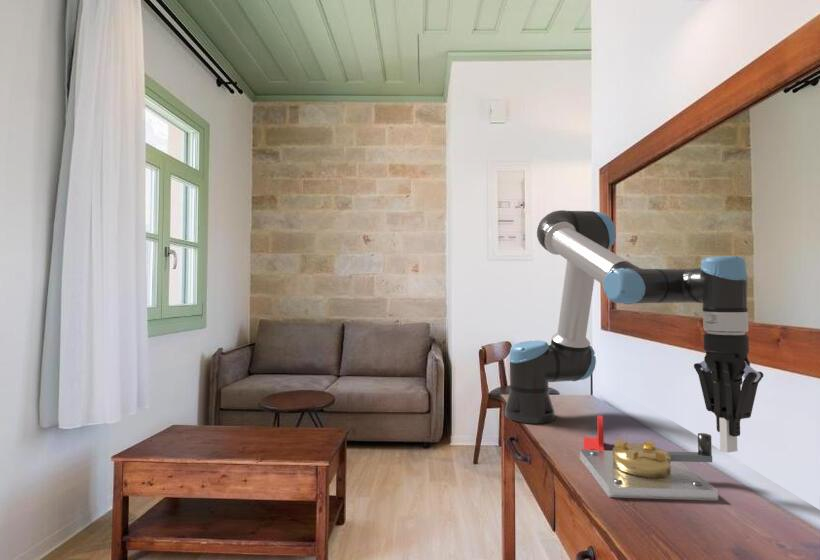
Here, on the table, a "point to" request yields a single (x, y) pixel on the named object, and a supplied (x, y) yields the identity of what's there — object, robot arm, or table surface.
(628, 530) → the table surface
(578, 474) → the table surface
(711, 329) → the robot arm
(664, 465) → the ball knob lever
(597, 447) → the bracket
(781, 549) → the table surface
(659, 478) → the flange plate
